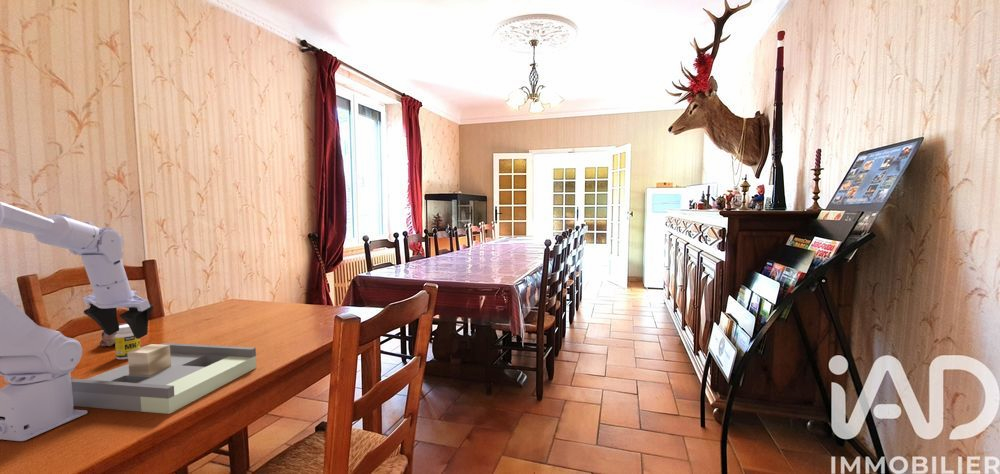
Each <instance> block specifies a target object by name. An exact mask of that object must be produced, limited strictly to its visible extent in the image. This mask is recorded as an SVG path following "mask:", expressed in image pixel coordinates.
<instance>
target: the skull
mask: <svg viewBox="0 0 1000 474" xmlns="http://www.w3.org/2000/svg"><path fill="white" fill-rule="evenodd" d="M125 324H126V323H119V326H120V325H125ZM116 334H117V332H115V333H113V334H111V335H107V334H106V333H105V332H104V330H103V329H102V332H101V340H100V341H98V343H99V345H100V346H103V347H106V346H107V347H111V346H113V345H114V344H115V335H116Z"/></svg>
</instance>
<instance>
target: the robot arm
mask: <svg viewBox="0 0 1000 474" xmlns="http://www.w3.org/2000/svg"><path fill="white" fill-rule="evenodd" d="M0 228H2V229H8V230H13V231H17V232H21V233H27V234H31V235H33V236H34V238H35V240H37V242H39V243H41V244H45V245H49V246H53V247H58V248H63V249H65V250H68V251H69V253H71V254H73V255H75V256H77V255H80V258H81V261H82V264H83V267H84V270H85V272H86V275H87V278H88V280H89V283H90V286H91V290H92V291H93V293H91V294H89V295H87V296H84V297H82V300H83V302H84V305H85V306H87V307H88V308H86V309H84V311H83V314H84V315H86V316H88V317H89V318H91V319H92V320H93V321H94V322H95V323H96V324H97V325H98V326H99V327H100V328H101V330H102V331H103V330H104V332H105V333H106V334H107V335H111V334H113V333H115V332H117V331H119V324H120V323H119V320H118V314H117V310H118V308H119V309H120V308H123V309H125V308H126V309H128V310H126V311H124V312H122V313H121V314H119V317H120V318H121V319H122V320H124V322H125V323H126V324H128V325H129V327H130V328H131V330H132V333H133V335H134V336H135V337H136V338H137V339H140V340H141V338H143V337H145V336H148V334H149V333H148V331H149V330H148V329H149V318H150V315H151V313H152V311H153V309H154V306H153V304H152V303H150V301H149V299H147V298H143V297H141V296H139V295H137V294H138V291H137V290H132V288H131V286H130V283H129V279H128V276H127V273H126V270H125V267H124V263H123V260H122V259H123V256H124V254H123V246H124V237H123V235H121V234H120V233H119V232H118V231H117V230H116V229H114V228H112V227H98V226H95V225H94V223H93V222H90V221H80V220H77V219H74V218H72V215H71V214H69V213H57V214H50V215H46V216H42V215H40V214H37V213H34V212H31V211H28V210H26V209H23V208H20V207H17V206H14V205H12V204H10V203H6V202H2V201H0ZM82 356H83V347H82V345H81V343H80V342H79V340H77V339H75V338H71V337H67V336H65V335H64V334H63V333H62V332H61V331H57V330H56V329H52V328H48V327H46V326H45V327H44V326H42V325H38V324H37V323H36V322H34V320H32V319H31V318H30V317H29V316H28V315H27V314H26V313H25V312H24V311H23V310H22V309H21V308H19V307H18V306H17V305H16V304H15V303H14V302H13V301H12V300H11V299H10V298H9V297H7V296H6V295H5V294H4V293H3V292H2V291H1V290H0V376H2V377H4V378H3V379H4V382H5V383H8V384H7V385H5V386H3V387H2V388H0V440H6V441H15V442H24V441H28V440H29V439H31V438H34V437H36V436H39V435H41V434H43V433H46V432H48V431H50V430H52V429H54V428H57V427H59V426H61V425H64V424H66V423H68V422H71V421H73V420H75V419H77V418H80V417H81V416H84V415H87V414H88V410H86V409H75V406H73V395H72V384H71V379H72V374H71V373H72V372H73V371H75V367H77V366H78V364H79V363H80V361H81V358H82Z"/></svg>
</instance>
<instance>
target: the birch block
mask: <svg viewBox="0 0 1000 474" xmlns="http://www.w3.org/2000/svg"><path fill="white" fill-rule="evenodd" d="M127 364H129V374H134V375H151V374H154V373H156V372H159V371H161V370H163V369H166V368H168V367H171V356H170V345H159V344H157V343H156V344H154V343H153V344H152V343H149V344H147V345H144V346H140V348H138V349H135V350H132V351H129V352H128V359H127Z"/></svg>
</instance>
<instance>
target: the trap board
mask: <svg viewBox="0 0 1000 474" xmlns="http://www.w3.org/2000/svg"><path fill="white" fill-rule="evenodd" d="M159 345H170V356H171V367H168V368H166V369H163V370H161V371H159V372H156V373H154V374H151V375H134V374H129V364H128V363H127V364H124V365H121V366H119V367H115V368H113V369H111V370H107V371H105V372H101V373H100V374H96V375H93V376H91V377H88V378H85V379H83V378H71V384H72V395H73V406H74V407H82V408H94V409H103V410H104V409H107V410H119V411H128V412H129V411H130V412H141V413H142V412H144V413H155V414H166V415H167V414H170V415H171V414H172V413H174V412H176V411H178V410H180V409H182V408H183V407H185V406H187V405H189V404H191V403H193V402H194V401H197V400H198V399H200V398H202V397H205V396H206V395H208V394H209V393H211V392H213V391H216V390H217V389H219V388H220V387H222V386H224V385H227V384H228V383H230V382H232V381H234V380H236V379H237V378H240V377H241V376H244V375H246V374H247V373H249V372H252V370H255V369H257V353H256V350H257V349H256V347H250V346H249V347H248V346H232V345H231V346H230V345H229V346H228V345H213V344H212V345H209V344H194V343H193V344H192V343H191V344H189V343H172V342H171V343H170V342H163V343H160V344H159Z"/></svg>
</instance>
